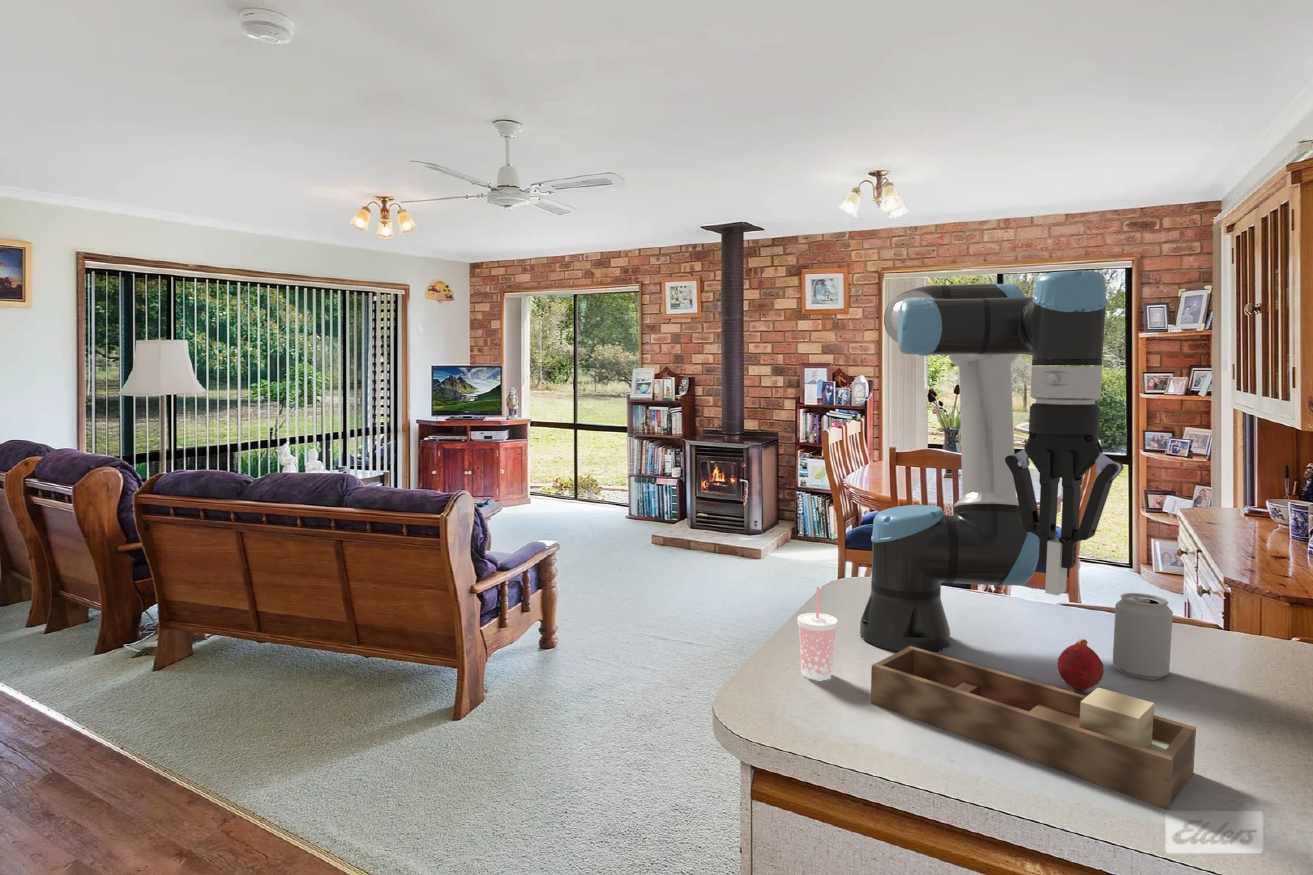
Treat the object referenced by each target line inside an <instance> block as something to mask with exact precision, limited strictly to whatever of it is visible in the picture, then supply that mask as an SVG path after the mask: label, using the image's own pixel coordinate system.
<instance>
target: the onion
mask: <svg viewBox="0 0 1313 875" xmlns="http://www.w3.org/2000/svg"><path fill="white" fill-rule="evenodd" d="M1057 671H1058V674H1059V676H1060V677H1061V680H1063V682H1064V683H1065V684H1067V685H1068V686H1069V688H1072V689H1073V690H1074V691H1075V692H1076V693H1084V692H1085V691H1088V690H1089V689H1091V688H1093V687H1095V686H1097V685H1098V684H1099V683H1100V682H1101V680H1102V678H1103V676H1104V664H1103V662H1102V660H1101V658H1100V657H1099V655H1098V654H1097V653H1096V652H1095V650H1093V649H1092V648H1091V647H1089V646H1088V641H1087V639H1085V638H1080V639H1078V640H1077V641H1076V642H1075V643H1074V644H1071V645H1070V646H1068V647H1066V648H1065V649H1064V650H1063V651H1062V652H1061V653H1060V655H1059V656H1058V659H1057Z"/></svg>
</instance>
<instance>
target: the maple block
mask: <svg viewBox="0 0 1313 875" xmlns="http://www.w3.org/2000/svg"><path fill="white" fill-rule="evenodd" d="M1086 696H1087V697H1086V698H1084V699H1083V700H1082V701H1081V702H1080V722H1079V727H1080V728H1083V729H1086V730H1089V731H1092V732H1095V733H1099V734H1102V735H1105V736H1108V737H1111V738H1115V739H1118V740H1121V741H1124V742H1127V743H1130V744H1134V745H1137V746H1140V747H1143V748H1146V749H1148V748H1149V746H1150V745H1151V744H1152V733H1153V715H1155V714H1154V712H1155V703H1154V702H1152V701H1148V700H1145V699H1142V698H1141V699H1140V698H1138V697H1133V696H1131V695H1126V694H1123V693H1119V692H1116V691H1113V690H1109V689H1105V688H1101V687H1096V688H1095V689H1094V690H1093V691H1092V692H1091V693H1089V694H1088V695H1086Z"/></svg>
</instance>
